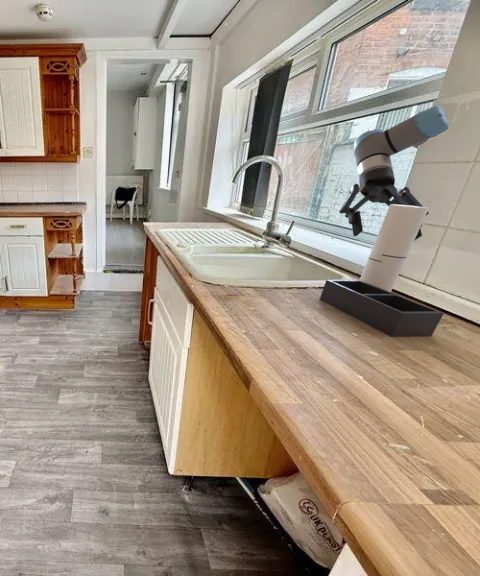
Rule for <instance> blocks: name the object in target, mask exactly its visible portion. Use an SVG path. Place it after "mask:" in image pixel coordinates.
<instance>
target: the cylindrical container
mask: <svg viewBox="0 0 480 576" xmlns="http://www.w3.org/2000/svg"><path fill="white" fill-rule="evenodd" d="M429 208H430V207H426V206H423V207H420V206H410V205H398V204H390V206H388V209H387V210H386V214H385V216H384V218H383V221H382V223H381V226H380V229H379V231H378V233H377V235H376V238H375V240H374V243H373V245H372V248H371V251H370V252H369V255H368V257H367V260H366V263H365V265H364V268H363V271H362V272H361V275H360V278H359V280H361V281H363V282H366V283H369V284H371V285H374V286H376V287H379V288H381V289H384V290H386V291H389V292H392V291H393V289H394V286H395V285H396V282H397V279H398V277H399V275H400V272H401V271H402V268H403V266H404V264H405V262H406V260H407V257H408V255H409V253H410V251H411V250H412V249H411V248H412V246H413V244H414V242H415V241H416V240H415V238H416V235H417V233H418V231H419V229H421V228H422V227H421V224H422V225H423V222H424V220H425V217H426V216H427V215H426V213H427V211H428V212H429ZM420 227H421V228H420ZM414 240H415V241H414Z"/></svg>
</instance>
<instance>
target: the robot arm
mask: <svg viewBox="0 0 480 576" xmlns="http://www.w3.org/2000/svg"><path fill="white" fill-rule="evenodd" d="M443 111H444V110H443V108H442V106H440V105H434V106H433V105H432V106H431V107H429V108H426V109H424V110H420V111H419V112H418V113H416V114H414V115H412V116H411V117H409V118H407V119H405V120H403V121H401V122H399V123H397V124H395V125H393V126H391V127H390V128H388V129H386V130H382V129H379V128H375V129H374V128H373V129H372V130H366V131H365V132H363V133H361V134H360V135H359V136H358V137H357V138H356V139H355V141H354V143H353V149H354V150H353V154H354V158H355V163H356V168H357V175H358V180H359V181H358V182H359V184H358V183H355V184H353V185H352V187H350V189H349V190H348V195H347V197H346V199H345V201H344V202H343V204H342V206H341V208H340V209H339V211H338V213H339V214H340V215H343V214H344V217H345V218H347V220H348V225H351V229H352V234H353V237H357V236H358V235H360V234H361V233H363V231H364V228H363V222H362V215H361V211H360V210H359V209H360V208H362V207H363V206H364V205H365V204H366V203H367V202H368V201H369V202H371V203H372V204H373V203H379V204H385V205H386V206H388V207H389V206H390V204H398V205H410V206H420V207H424V206H423V205H422V203H420V202H419V200H418V198H416V197H415V196H414V195H413V194H412V193H411V191H410V188H409V187H408V186H404V187H403V188H397V187H396V186H395V182H396V178H395V174H394V168H393V164H392V160H391V156H393V155H396V154H398V153H401V152H402V151H405V150H407V149H409V148H411V147H413V148H415V149H418V146H419V145H421V144H423V143H424V142H426V141H427V140H428V139H429V138H431V137H435V136H437V135H438V134H440V133H442V132H444V131H446V130H447V129H448V126H449V125H448V123H447V120H446V117H445V115H446V114H445V115H444V113H445V111H444V112H443ZM359 194H361V195H362V196H363V198H362V199H360V200H359V201H358V202H357V203H356V204H355V205H353V206H352V207H351V205H352V203H353V202H354V200H355V198H356V196H357V195H359ZM392 198H393V199H392ZM391 199H392V200H391ZM429 214H430V213H429V210H428V211H427V213H426V216H427V215H429ZM422 227H423V223H422V224H421V227H420V229H419V231H418V233H417V235H416V238H415V240H414V242H415V241H416V240H418V239H420V238H421V237H423V233H422V230H421V228H422Z"/></svg>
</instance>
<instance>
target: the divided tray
mask: <svg viewBox="0 0 480 576" xmlns="http://www.w3.org/2000/svg"><path fill="white" fill-rule="evenodd" d="M319 300H320V301H322V302H324V303H326V304H328V305H330V306H332V307H334V308H335V309H337V310H339V311H341V312H343V313H345V314H347V315H349V316H351V317H353V318H355V319H357V320H359V321H360V322H362V323H365V324H366V325H368V326H370V327H372V328H374V329H375V330H377V331H380V332H382V333H383V334H386V335H387V336H389V337H391V338H395V337H396V338H399V337H400V338H402V337H432V336H433V334H434V332H435V331H436V329H437V327H438V325H439V323H440V322H441V319H442V317H443V316H444V314H445V313H444V312H442V311H440V310H437V309H435V308H432V307H431V306H428V305H424V304H422V303H420V302H417V301H414V300H412V299H409V298H407V297H404V296H402V295H399V294H396V293H394V292H392V291H391V292H389V291H386V290H384V289H381V288H379V287H376V286H374V285H371V284H369V283H366V282H363V281H361V280H360V279H326V280H325V283H324V285H323V288H322V291H321V294H320V296H319Z"/></svg>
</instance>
